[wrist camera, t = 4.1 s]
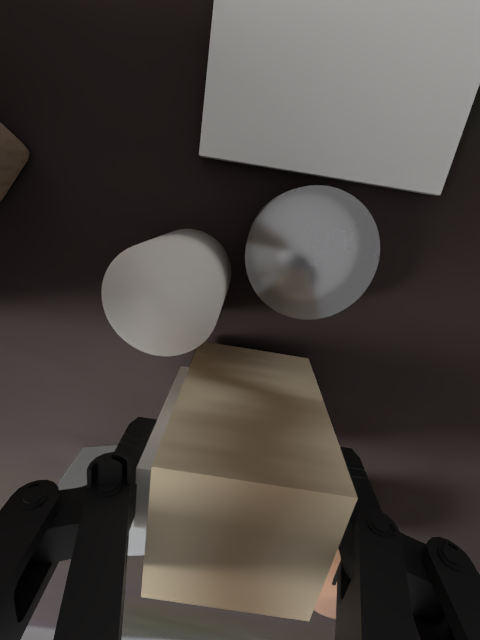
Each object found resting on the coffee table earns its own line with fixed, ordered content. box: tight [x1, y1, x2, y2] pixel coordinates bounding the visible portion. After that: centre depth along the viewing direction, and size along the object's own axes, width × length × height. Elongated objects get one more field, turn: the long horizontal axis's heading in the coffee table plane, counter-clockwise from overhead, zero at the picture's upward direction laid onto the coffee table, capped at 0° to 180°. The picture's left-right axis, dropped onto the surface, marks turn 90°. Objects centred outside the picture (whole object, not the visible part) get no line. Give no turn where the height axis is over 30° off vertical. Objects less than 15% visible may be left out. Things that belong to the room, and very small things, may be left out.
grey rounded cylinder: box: [101, 229, 231, 356], centre depth 13 cm, size 4×4×5 cm
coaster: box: [199, 0, 480, 195], centre depth 12 cm, size 10×10×1 cm
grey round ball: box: [245, 185, 380, 320], centre depth 13 cm, size 5×5×3 cm
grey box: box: [57, 445, 146, 556], centre depth 18 cm, size 6×4×4 cm, turn 97°
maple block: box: [141, 342, 358, 621], centre depth 13 cm, size 6×6×8 cm
